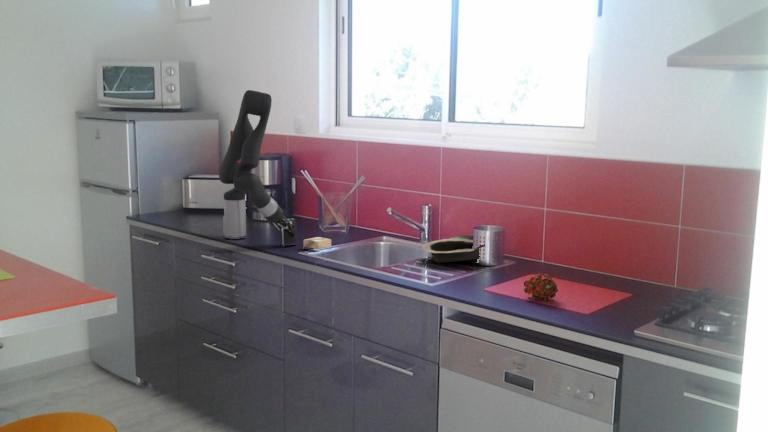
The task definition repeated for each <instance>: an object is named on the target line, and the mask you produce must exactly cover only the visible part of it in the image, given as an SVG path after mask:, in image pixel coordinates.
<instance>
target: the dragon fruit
mask: <svg viewBox="0 0 768 432" xmlns="http://www.w3.org/2000/svg"><path fill="white" fill-rule="evenodd" d="M523 286H524V287H523V292H524V294H526V293H527V295H531V298H532V299H533V300H535V301H536V300H538V299H539V300H540V301H545V302H546V301H548V300H549V299H554V298H556V296H557V292H559V289H558V286H557V283H556V281H555V280H554V279H553V278H552V277H551V276H549V275H548V274H543V273H536V276H533V277H530V278H529V279H527V280H525V281H524V282H523Z"/></svg>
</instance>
